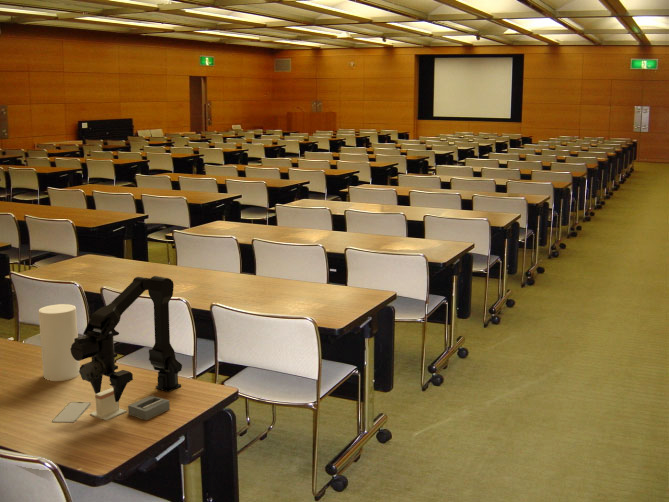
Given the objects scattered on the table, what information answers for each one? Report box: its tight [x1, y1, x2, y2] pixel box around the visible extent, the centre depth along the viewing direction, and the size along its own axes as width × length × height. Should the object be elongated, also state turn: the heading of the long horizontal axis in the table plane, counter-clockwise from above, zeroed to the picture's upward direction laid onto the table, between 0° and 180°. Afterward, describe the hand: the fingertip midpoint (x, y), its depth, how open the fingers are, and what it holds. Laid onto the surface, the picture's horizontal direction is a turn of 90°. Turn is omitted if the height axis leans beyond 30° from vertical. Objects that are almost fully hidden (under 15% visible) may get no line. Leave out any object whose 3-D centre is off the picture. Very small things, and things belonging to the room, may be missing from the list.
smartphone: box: [51, 401, 92, 424], centre depth 224 cm, size 7×1×15 cm
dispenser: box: [127, 394, 171, 421], centre depth 224 cm, size 10×8×3 cm
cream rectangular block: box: [94, 386, 120, 417], centre depth 223 cm, size 7×2×7 cm, turn 147°
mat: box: [89, 407, 128, 422], centre depth 223 cm, size 8×8×1 cm
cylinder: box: [38, 303, 81, 382], centre depth 254 cm, size 12×12×25 cm
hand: (107, 398), depth 223 cm, fingers open, 9 cm apart
